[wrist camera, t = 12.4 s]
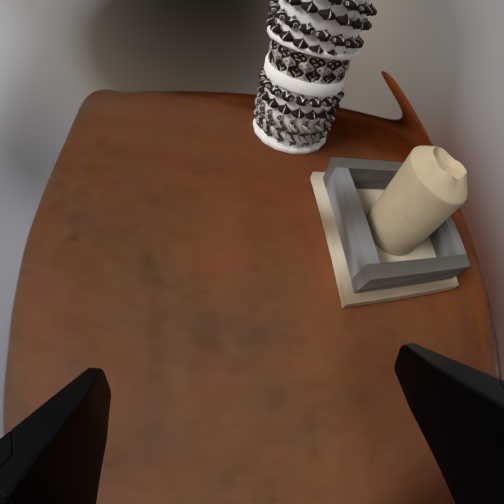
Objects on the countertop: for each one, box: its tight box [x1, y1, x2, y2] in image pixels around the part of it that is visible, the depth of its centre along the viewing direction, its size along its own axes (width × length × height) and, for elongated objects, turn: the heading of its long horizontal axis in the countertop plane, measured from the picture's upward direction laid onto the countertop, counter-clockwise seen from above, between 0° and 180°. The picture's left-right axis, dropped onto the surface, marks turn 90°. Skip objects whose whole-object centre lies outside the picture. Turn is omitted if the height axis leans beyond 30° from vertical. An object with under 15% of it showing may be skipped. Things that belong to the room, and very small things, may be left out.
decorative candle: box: [253, 0, 377, 154], centre depth 21 cm, size 9×9×25 cm
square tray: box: [310, 157, 470, 308], centre depth 25 cm, size 13×13×4 cm
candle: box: [367, 146, 468, 256], centre depth 22 cm, size 6×6×10 cm
